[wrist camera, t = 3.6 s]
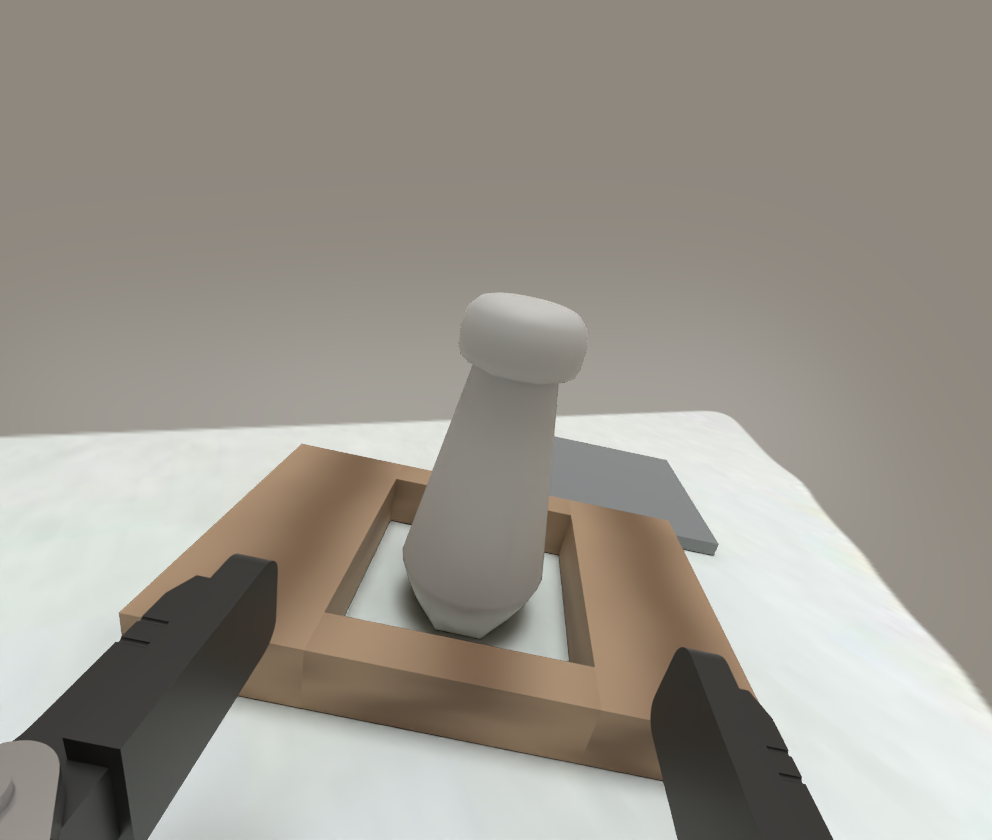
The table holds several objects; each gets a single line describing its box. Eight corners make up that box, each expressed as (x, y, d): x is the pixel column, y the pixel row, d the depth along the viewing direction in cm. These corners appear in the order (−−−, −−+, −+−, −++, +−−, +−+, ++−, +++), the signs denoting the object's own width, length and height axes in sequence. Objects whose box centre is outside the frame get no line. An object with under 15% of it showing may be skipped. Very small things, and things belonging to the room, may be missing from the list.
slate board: (513, 513, 27) (516, 502, 27) (517, 438, 38) (519, 429, 37) (713, 555, 28) (718, 544, 27) (663, 468, 38) (666, 460, 38)
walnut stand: (126, 673, 15) (119, 612, 14) (299, 484, 26) (301, 443, 25) (747, 797, 15) (780, 746, 14) (653, 557, 26) (668, 520, 25)
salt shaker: (387, 560, 22) (427, 272, 17) (500, 550, 24) (563, 295, 19) (412, 669, 17) (479, 307, 12) (551, 644, 19) (654, 332, 14)
